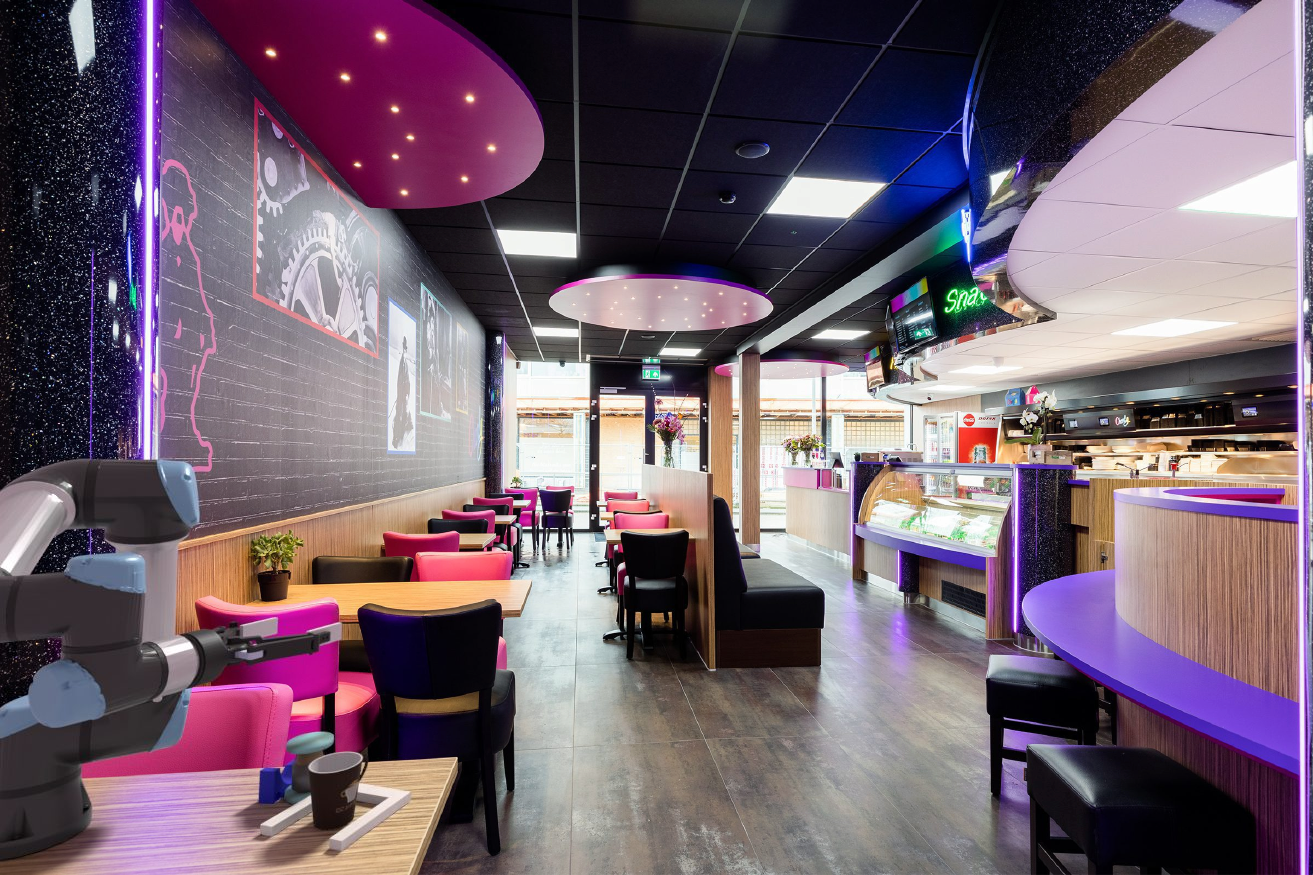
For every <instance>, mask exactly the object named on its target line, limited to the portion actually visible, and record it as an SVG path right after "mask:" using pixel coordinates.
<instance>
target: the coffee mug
mask: <svg viewBox="0 0 1313 875" xmlns="http://www.w3.org/2000/svg"><path fill="white" fill-rule="evenodd" d="M324 755H325V754H324ZM363 759H364V765H363ZM368 765H369V757H368V755H367V754H364V753H361V754H360V753H359V752H356V751H355V752H354V751H340V752H333V753H329V754H326V755H325V756H323V757H320V758H318V759H316V760H314V761H313V762H311V763H310V765H309V767H308V769H309V780H310V792H311V803H312V812H311V813H312V814H311V815H312V824H313V828H314V827H315V828H314V829H316V830H317V831H333V830H337V829H341V828H342V827H344V826H345V827H346V826H348V825H349V824H351V823H352V821H353V820H354V817H355V811H356V805H357V801H356V799H357V793H358V786H359V783H361V781H362V779H363V777H364V775H365V773H366V771H367V769H368ZM362 766H363V768H362ZM348 823H349V824H348Z"/></svg>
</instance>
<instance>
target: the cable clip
mask: <svg viewBox="0 0 1313 875" xmlns="http://www.w3.org/2000/svg"><path fill="white" fill-rule="evenodd" d="M296 759H297V754H295V758H294V759H293V760H291V761H290V762H288V763H287V764H285V765H284V768H283V770H282V771H281V767H271V766H270V767H268V766H266V767H263V768H262V769H260V770H259V780H258V784H259V785H258V804H265V805H273V804H275V803H277V802H279V801H280V800H281V799H283V798H284V793H285V790H286V789H287V788H288V787H289V786H290V785H291V784H292V763H293V761H295V760H296Z"/></svg>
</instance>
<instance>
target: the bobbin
mask: <svg viewBox="0 0 1313 875" xmlns="http://www.w3.org/2000/svg"><path fill="white" fill-rule="evenodd" d="M334 736H335V735H334V734H333V733H331V732H328V731H315V732H313V731H312V732H309V733H303V734H299V735H297V736H295V737H293V738H292V737H291V739H289V740H288V741H287V742H286V748H285V749H286V752H287V753H288V754H291V755H296V754H297V759H296V760H295V761H293V760H292V761H293V763H292V784H291V785H290V786H289V787H288V788H287V789H286V790H285V793H284V797H283V800H284V802H285V803H286V804H290V805H295V804H296V803H298V802H300V801H302V800H303V799H305V798H307V797H308V796H310V795H311V792H310V780H309V769H308V767H309V765H310V763H311V762H313V761H314V760H316V759H318V758H320V757H323V756H325V754H324V752H323V751H324V750H326V749H328V748H330V747H331V746H332V745H334V741H335V737H334Z"/></svg>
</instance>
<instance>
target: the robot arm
mask: <svg viewBox="0 0 1313 875" xmlns="http://www.w3.org/2000/svg"><path fill="white" fill-rule="evenodd" d="M199 502H200V501H199V491H198V484H197V478H196V473H195V470H194V468H193V466H192V465H191V464H190V463H188V462H185V461H179V460H177V461H176V460H168V459H167V460H165V459H162V458H161V459H123V458H122V459H120V458H119V459H106V458H105V459H98V458H97V459H93V458H78V459H70V460H65V461H59V462H55V463H52V464H49V465H46V466H42V467H40V468H37V469H35V470H32V471H30V472H28V473H26V474H25V473H24V474H23V475H21V476H18V477H17V478H16V479H14V480H12V481H11V482H9V483H8V484H6V485H5V486H4V487H3V488H2V489H0V644H1V643H9V642H21V641H30V640H32V641H33V640H40V639H50V638H51V639H52V638H61V650H60V659H58V660H56V661H54V662H52V663H48V664H46V665H44V666H43V667H41V668H40V669H39V670H37V671H36V673H35V674H34V676H33V677H32V678H33V679H32V680H33V682H32V683H31V684H30V685H29V687H28V694H27V695H24V696H21V697H19V698H16V699H13V700H12V701H9V702H7V703H5V704H4V705H2V706H1V707H0V861H3V860H9V859H15V858H18V857H22V856H26V855H29V854H33V853H36V852H39V851H43V850H45V849H48V848H51V847H53V846H56V845H59V844H60V843H63V842H65V841H68V840H70V839H72V838H73V837H75V836H76V835H78V834H80V833H81V832H83V831H84V830H85V829H86V828H87V827H89V825H91V822H92V820H93V804H92V801H91V799H90V796H89V794H88V791H87V789H86V786H85V783H84V780H83V778H82V770H83V769H82V767H83V764H89V763H94V762H95V763H96V762H99V761H100V762H101V761H106V760H111V759H117V758H122V757H128V756H132V755H137V754H143V753H148V754H150V753H153V752H154V751H159V750H162V749H167V748H171V747H174V746H175V745H177V744H178V743H179V742H180V741H181V739H182V737H183V733H184V730H185V725H186V722H187V716H188V711H189V705H190V700H191V695H192V689H193V688H195V687H199V686H202V685H205V684H207V683H208V684H209V683H211V682H213V681H215V680H216V679H217V678H219V676H221V674H222V672H223V671H224V669H225V667H228V666H230V667H231V666H238V665H240V664H242V663H246V664H245V665H246V666H249V667H250V666H253V665H258V664H260V663H261V664H262V663H265V662H270V661H274V660H275V661H276V660H281V659H285V658H292V657H298V656H303V655H308V656H313V655H314V654H316V653H319V652H320V647H321V646H324V645H329V644H331V643H334V642H337V641H340V640H342V633H343V632H342V631H343V630H342V628H343V622H334V623H332V624H328V625H324V626H320V627H317V628H313V629H310V630H306V632H305V633H298V634H289V635H281V636H273V635H277V634H278V624H279V622H278V620H279V618H278V617H270V618H266V619H263V620H262V619H261V620H257V621H254V622H249V623H245V624H241V625H239V621H231V622H228V623H229V624H228V628H227V627H226V626H223V625H220V626H217V627H215V628H213V629H209V628H208V629H207V628H201V629H197V630H193V631H189V632H185V633H180V634H176V611H177V585H178V583H177V582H178V580H177V579H178V560H179V559H178V558H179V557H178V556H179V544H180V543H181V542H182V541H184V540H185V539H186V538H187V537H189V535H190V528H193V527H195V526H197V525H199V524H200V503H199ZM79 529H81V530H83V529H87V530H91V529H93V530H94V529H103V530H104V537H103V538H104V541H106V542H107V543H108V544H110V545H111V546H113V547H114V548H115V552H114V553H111V552H110V553H98V554H86V555H78V556H75V557H72V558H70V559H69V560H68V561H67V565H66V568H65V569H64V571H59V572H58V571H57V572H49V573H36V574H35V573H34V574H32V572H33V570H34V569H35V567H36V566H37V564H38V562H39V560H40V559H41V557H42V556H43V554H44V553H45V552H46V550H47V548H48V547H49V545H50V543H51V542H52V540H53V538H54V537H57V536H58V535H60V534H62V533H64V532H65V531H66V530H79ZM253 642H255V643H254V644H253Z"/></svg>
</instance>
